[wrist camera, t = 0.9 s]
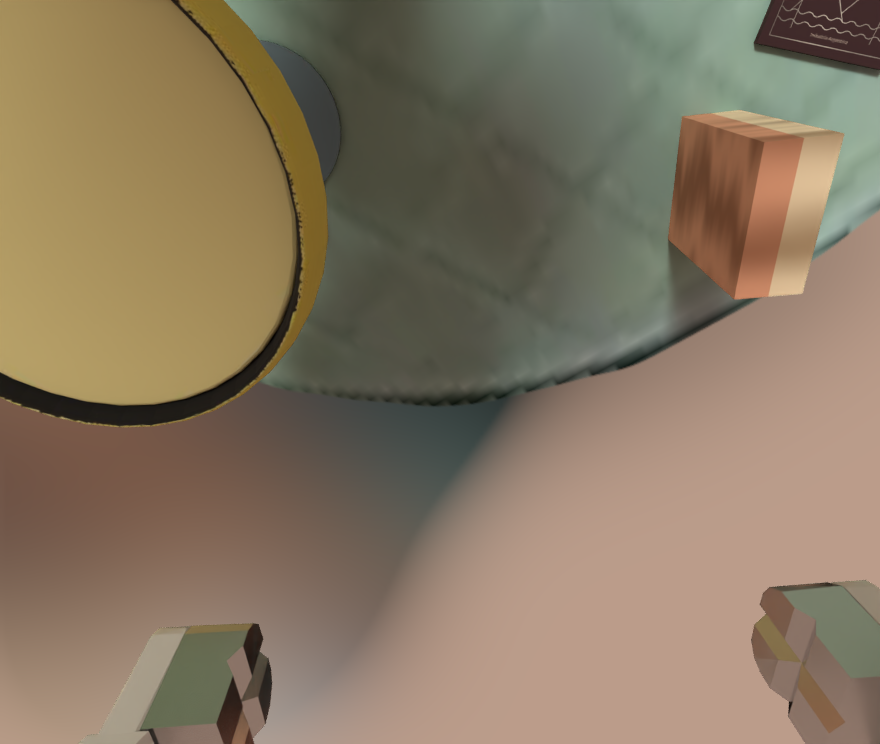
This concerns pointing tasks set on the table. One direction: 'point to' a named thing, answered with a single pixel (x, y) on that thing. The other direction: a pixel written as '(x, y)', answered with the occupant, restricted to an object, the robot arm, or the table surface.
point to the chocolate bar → (825, 29)
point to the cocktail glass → (153, 206)
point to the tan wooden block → (751, 199)
